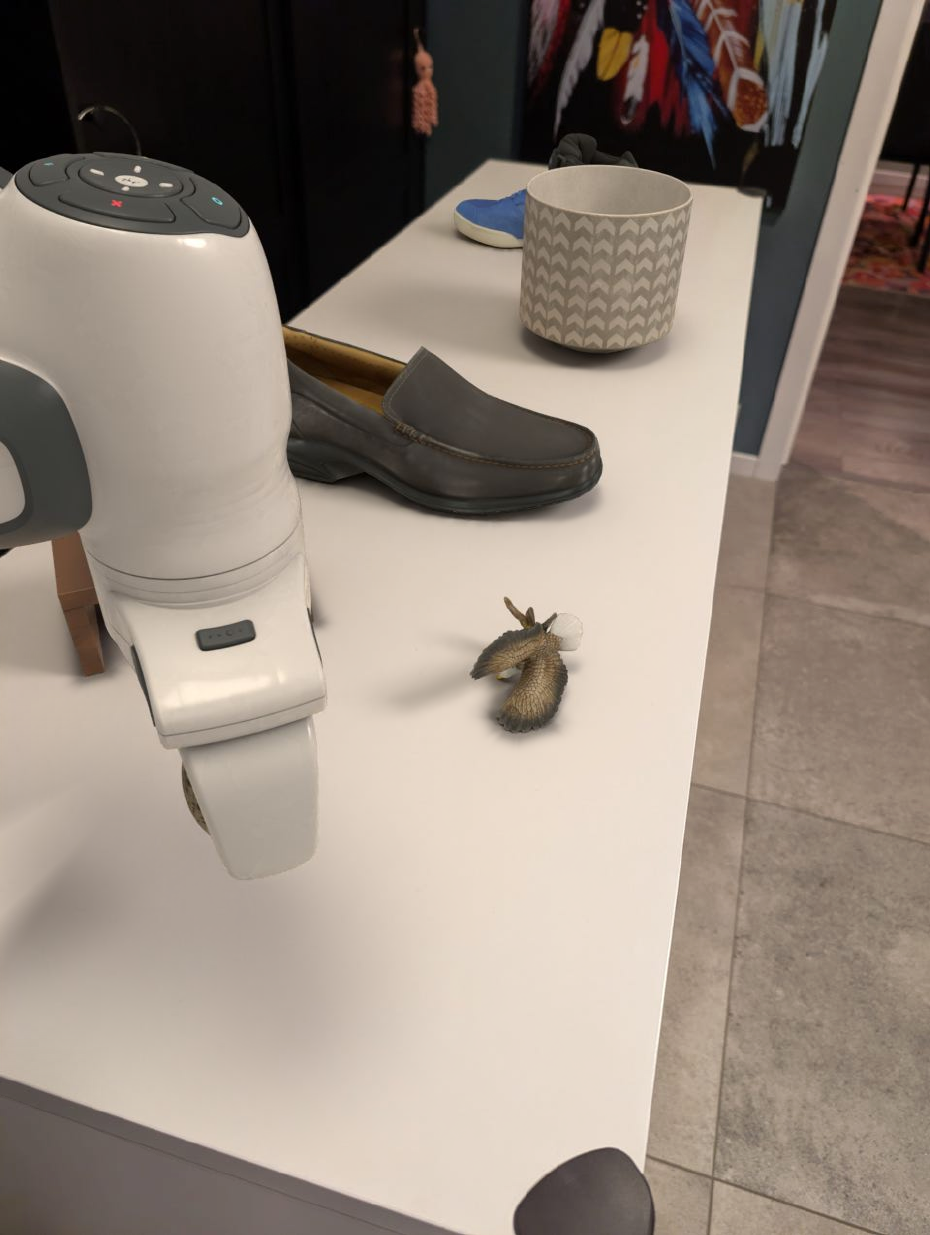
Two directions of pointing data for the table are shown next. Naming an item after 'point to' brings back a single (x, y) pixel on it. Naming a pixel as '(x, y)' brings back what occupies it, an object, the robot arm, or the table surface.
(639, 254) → the planter
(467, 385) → the loafer
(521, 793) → the table surface
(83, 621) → the shelf
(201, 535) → the robot arm
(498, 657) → the eagle figurine
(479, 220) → the sneaker
